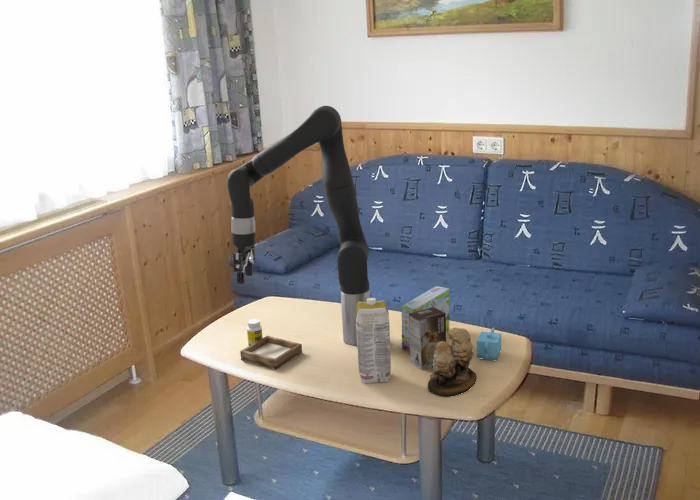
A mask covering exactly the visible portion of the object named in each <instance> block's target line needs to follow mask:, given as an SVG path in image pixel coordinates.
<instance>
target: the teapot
mask: <svg viewBox="0 0 700 500" xmlns="http://www.w3.org/2000/svg"><path fill="white" fill-rule="evenodd" d="M500 351H502V333H500V332H495V327H492V328H491V329H490V331H489V332H488V331H481V332H480V333H479V335H478V338H477V340H476V359H479V358H483V360H491V361H492V360H496V361H498V358H499V356H500V354H501V352H500Z"/></svg>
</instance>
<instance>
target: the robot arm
mask: <svg viewBox="0 0 700 500" xmlns="http://www.w3.org/2000/svg"><path fill="white" fill-rule="evenodd" d="M315 144H319V149H320V152H321V171H322V173H321V175H322V184H323V188H324V195H325V198H326V202H327V206H328V208H329V210H330V212H331V214H332V216H333V218H334V221H335V223H336V226H337V230H338V235H339V242H340V249H339V250H338V253H337V256H336V257H337V260H336V261H337V275H338V276H337V277H338V284H339V287H340V301H341V302H340V303H341V304H340V306H341V320H342V321H341V322H342V335H343V336H342V338H343V339H342V340H343V342H344V343H345V344H347V345H353V346H357V331H356V309H357V303H358V302H367V299H368V298H371V295H370V281H369V275H368V258H369V256H370V255H369V254H370V251H369V247H368V246H369V245H368V243H367V240H366V237H365V234H364V232H363V227H362V225H361V221H360V212H359V205H358V204H359V203H358V199H357V193H356V192H357V191H356V188H355V183H354V180H353V175H352V172H351V168H350V164H349V160H348V157H347V153H346V148H345V144H344V135H343V126H342V117H341V114H340V113H339V112H338V110H337V109H336V108H335V107H333V106H331V105H321V106H319V107H318V108H316V109H315V110H314V111H312V112H311V113H310V115H309V117H307V118H306V119H305V121H303V122H302V123H301V124H300V125H299V126H298V127H297V128H295V129H294V130H292V132H290V133H289V134H287V135H286V136H284V137H282V138H280V139H278V140H277V141H275V142H273V143H272V144H269V146H267V147H266V148H264V149H263V150H261V151H259V152H258V153H256V155H254V156H253V158H252V159H250V160H249V161H246V162H245V163H244V164H241V165H240V166H238V167H237V168H234V169H232V170H231V171H230V172H229V173H228V176H227V190H228V195H229V200H230V202H231V207H230V209H231V222H230V223H231V224H230V225H231V226H230V228H231V231H230V232H231V245H232V246H233V247H236V249H237V251H236V252H234V253H233V254H232V256H233V272H234V273H236V283H237V284H238V285H243V284H245V276H246V277H252V276H253V275H254V269H253V268H254V262H255V261H256V249H255V245H256V244H257V239H256V238H257V237H256V234H257V233H256V229H257V228H256V220H255V204H254V200H253V198H251V190H250V188H251V187H252V186H254V185H255V184H256V183H258V182H259V181H260V180H261V179H263V178H264V177H266V176H268V175H269V174H272V173H273V172H275V171H276V170H278V169H279V168H280V167H282V166H283V165H285V164H286V163H287V162H288V161H290V160H292V159H293V158H294V157H295V156H297V155H299V153H301V152H302V151H304V150H306V149H307V148H309V147H311V146H314V145H315Z"/></svg>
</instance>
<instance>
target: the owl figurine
mask: <svg viewBox="0 0 700 500" xmlns="http://www.w3.org/2000/svg"><path fill="white" fill-rule="evenodd" d="M448 337H449V339H450V341H451V342H450V344H449V342H447V341H446V342H444V341H440V342H438V343H437V346H436V349H435V351H434V359H433V367H432V369H433V371H434V372H432V373H430V375H429V377H430V378H429V380H428V383H427V388H428V391H429V393H431V394H432V395H435V396H437V397H439V398H440V397H442V398H451V396H453V397H457V396H459V394H460V395H462V394H461V393H463V394H465V393H467V392H469V389H470V388H471V387H472V386H473V385H474V384H475V385H476V383H477V381H478V380H477V379H478V377H477V373H476V372H475V371H474V370H472V369H471V368H470V367H469V366H470V363H471V361H472V359H473V356H474V351H473V349H474V345H473V344H472V342H471V340H472V338H471V334H470V333H469V331H468V330H467V329H466V328H459V327H452V328H451V329H449V331H448ZM476 380H477V381H476ZM475 382H476V383H475ZM475 385H474V386H475ZM474 386H473V387H474ZM473 387H472V388H473ZM472 388H471V389H472ZM471 389H470V390H471ZM466 391H467V392H466ZM464 392H465V393H464ZM456 395H457V396H456Z"/></svg>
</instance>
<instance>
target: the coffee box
mask: <svg viewBox="0 0 700 500" xmlns="http://www.w3.org/2000/svg"><path fill="white" fill-rule="evenodd" d="M409 327H410V352H409V353H410V362H411V364H413V365H414V366H416V367H417V368H418V367H419V368H418V369H420V370H422V369H423V370H425V369H429V368H433V367H432V366H433V359H434V351H435V349H436V346H437V343H438V342H440V341H444V342H446V343H447V332H446V313H444V312H442V311H440V310H439V309H436V308H434V307H432V308H428V309H425V310H421V311H417V312H413V313H409Z"/></svg>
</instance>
